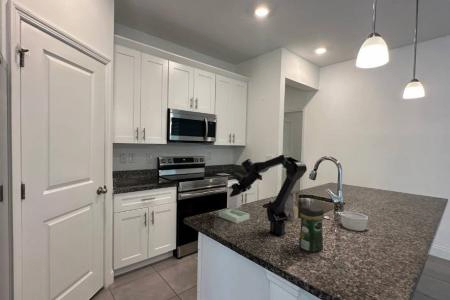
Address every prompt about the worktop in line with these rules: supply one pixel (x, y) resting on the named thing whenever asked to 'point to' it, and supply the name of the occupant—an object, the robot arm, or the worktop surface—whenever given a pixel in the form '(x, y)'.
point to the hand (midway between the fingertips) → (232, 195)
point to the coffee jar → (311, 228)
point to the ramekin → (354, 221)
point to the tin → (233, 199)
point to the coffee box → (292, 206)
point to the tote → (234, 215)
